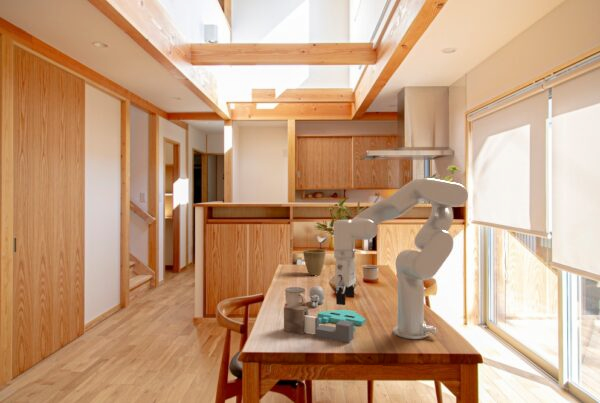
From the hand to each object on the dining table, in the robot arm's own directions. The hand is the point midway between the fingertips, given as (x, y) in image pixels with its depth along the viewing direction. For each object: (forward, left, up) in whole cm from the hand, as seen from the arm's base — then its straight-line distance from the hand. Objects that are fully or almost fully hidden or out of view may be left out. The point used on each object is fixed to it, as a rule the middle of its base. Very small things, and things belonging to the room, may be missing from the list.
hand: (345, 300), depth 138 cm
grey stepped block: (+4, 0, -14) cm, 15 cm away
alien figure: (+9, -19, -15) cm, 25 cm away
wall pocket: (+20, 0, -14) cm, 24 cm away
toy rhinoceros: (+28, -35, -14) cm, 47 cm away
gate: (+17, 0, -14) cm, 22 cm away
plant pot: (+57, -99, -14) cm, 115 cm away
